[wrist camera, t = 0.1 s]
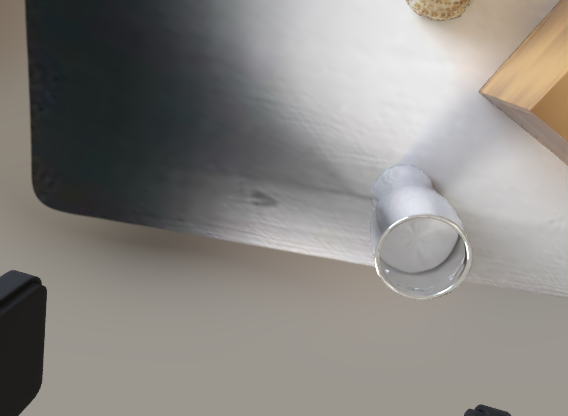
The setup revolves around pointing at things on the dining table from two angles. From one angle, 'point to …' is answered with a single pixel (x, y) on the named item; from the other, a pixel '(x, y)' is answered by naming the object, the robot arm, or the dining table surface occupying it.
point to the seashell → (439, 8)
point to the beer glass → (416, 236)
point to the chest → (533, 77)
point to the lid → (553, 105)
